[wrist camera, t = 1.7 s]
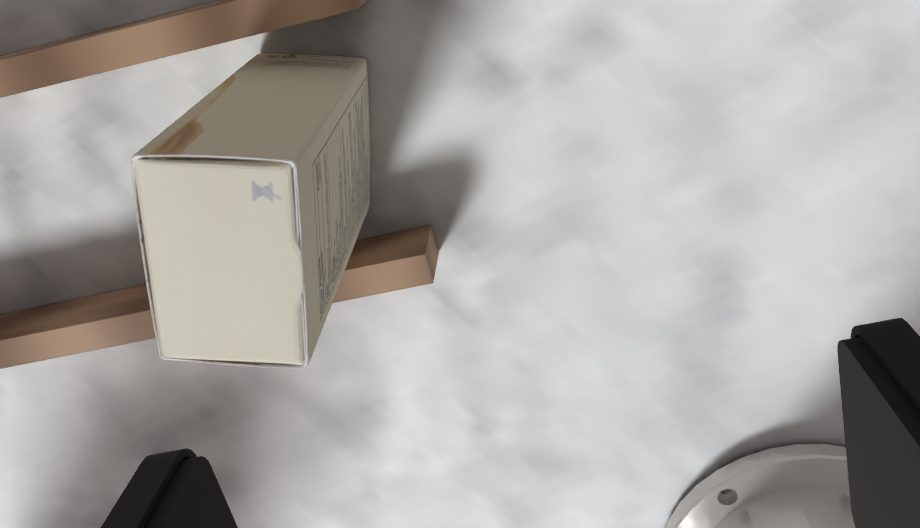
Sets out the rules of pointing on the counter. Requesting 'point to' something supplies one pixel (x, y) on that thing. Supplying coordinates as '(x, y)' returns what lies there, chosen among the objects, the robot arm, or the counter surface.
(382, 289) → the walnut rest
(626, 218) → the counter surface
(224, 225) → the skincare box
